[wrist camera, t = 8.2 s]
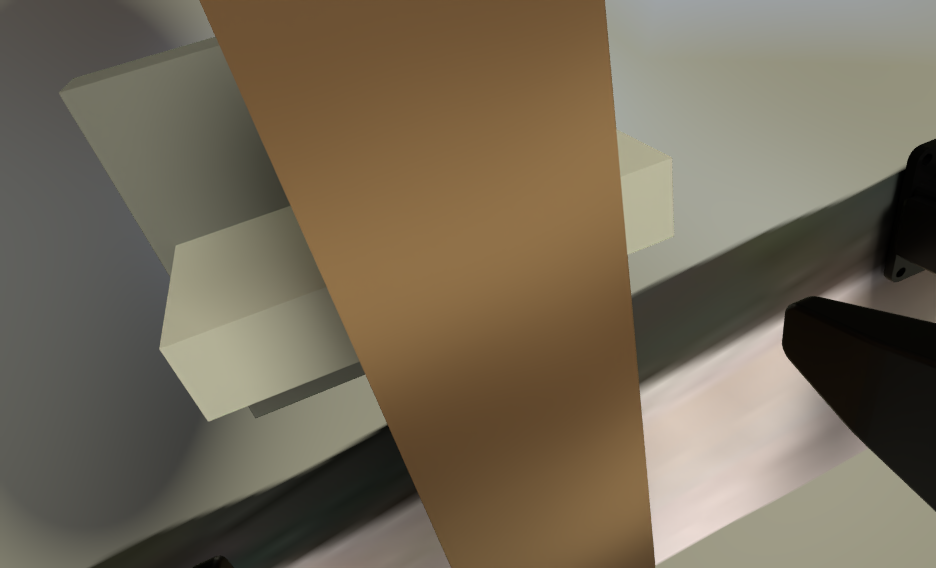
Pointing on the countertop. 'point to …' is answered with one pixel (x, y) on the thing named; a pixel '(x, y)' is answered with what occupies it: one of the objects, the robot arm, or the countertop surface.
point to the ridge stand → (250, 228)
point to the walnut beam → (469, 252)
